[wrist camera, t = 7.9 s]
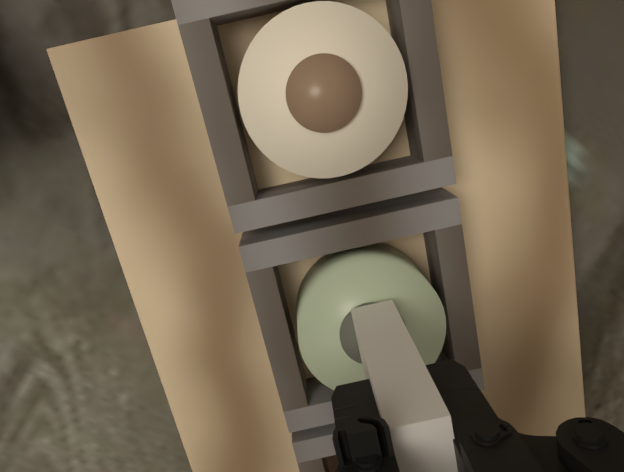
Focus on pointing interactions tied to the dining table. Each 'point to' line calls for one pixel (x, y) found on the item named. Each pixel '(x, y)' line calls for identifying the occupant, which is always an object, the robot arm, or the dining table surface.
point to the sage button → (355, 293)
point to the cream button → (322, 89)
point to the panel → (333, 216)
